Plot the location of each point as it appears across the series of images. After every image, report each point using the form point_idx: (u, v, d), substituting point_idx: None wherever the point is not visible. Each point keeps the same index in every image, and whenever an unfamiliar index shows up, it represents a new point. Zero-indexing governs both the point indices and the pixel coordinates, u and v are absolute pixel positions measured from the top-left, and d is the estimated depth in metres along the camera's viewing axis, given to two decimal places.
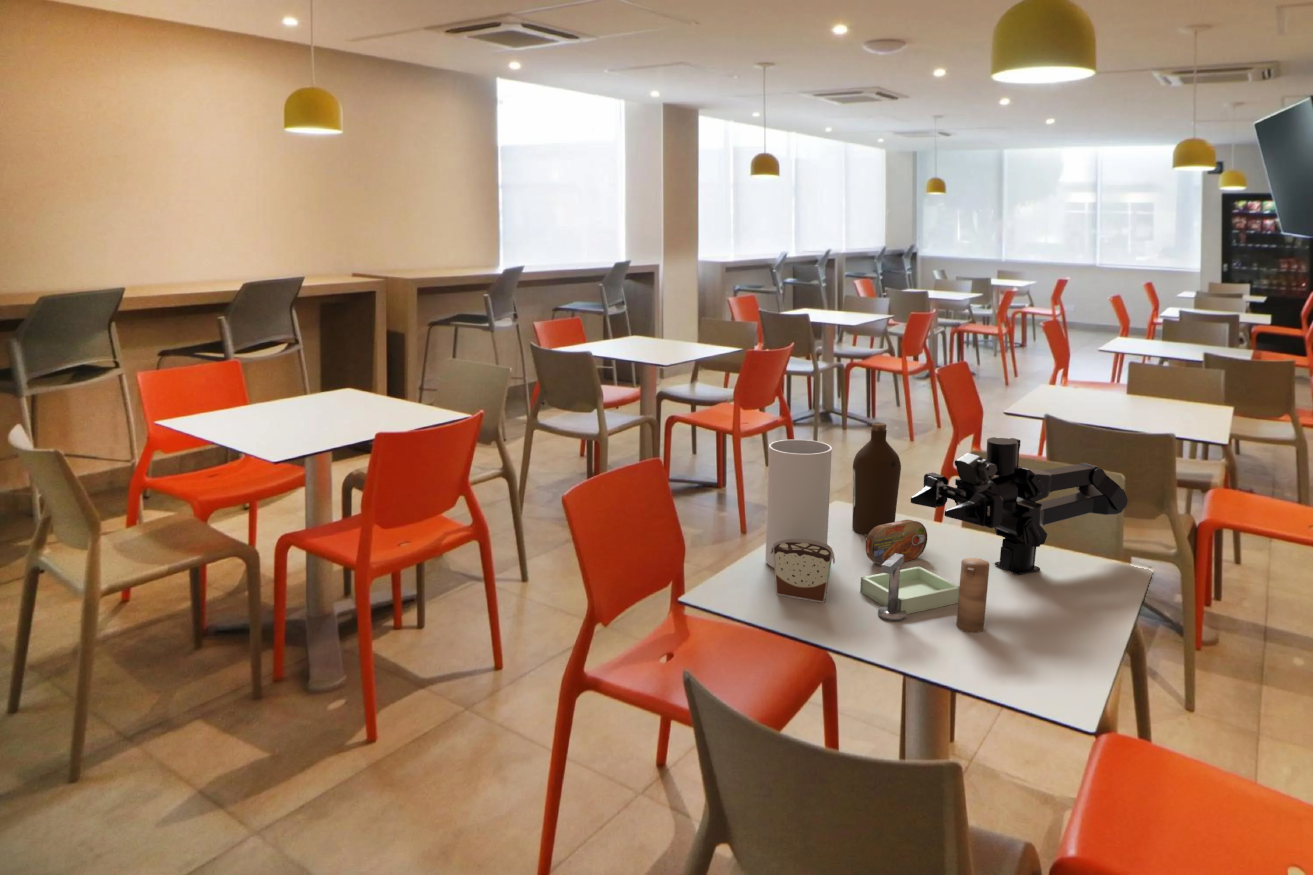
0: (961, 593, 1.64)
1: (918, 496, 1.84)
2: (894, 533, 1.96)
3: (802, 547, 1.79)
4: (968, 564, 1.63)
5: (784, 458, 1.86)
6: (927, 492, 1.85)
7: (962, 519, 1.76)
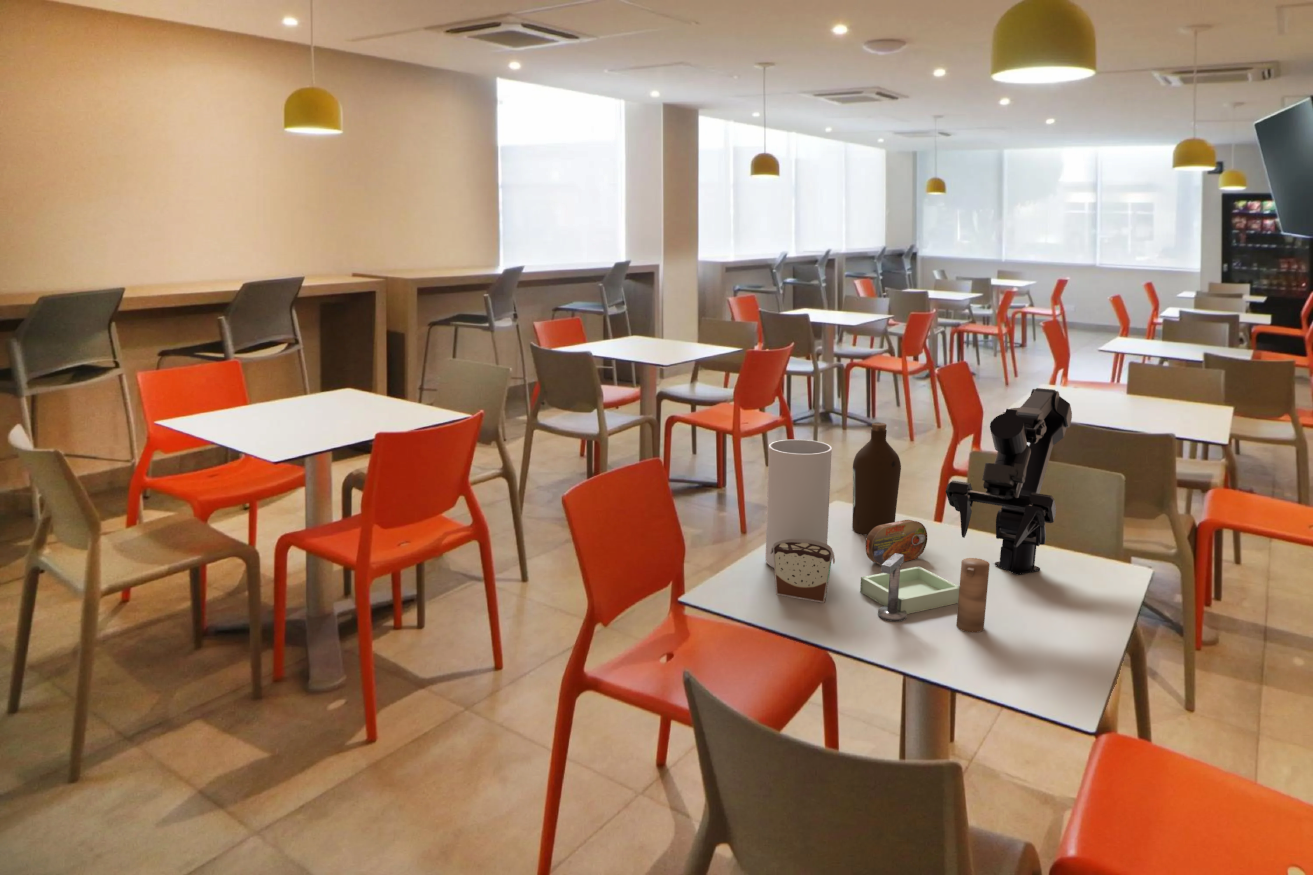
0: (961, 593, 1.64)
1: (965, 527, 1.73)
2: (894, 533, 1.96)
3: (802, 547, 1.79)
4: (968, 564, 1.63)
5: (784, 458, 1.86)
6: (967, 514, 1.74)
7: (1026, 535, 1.70)
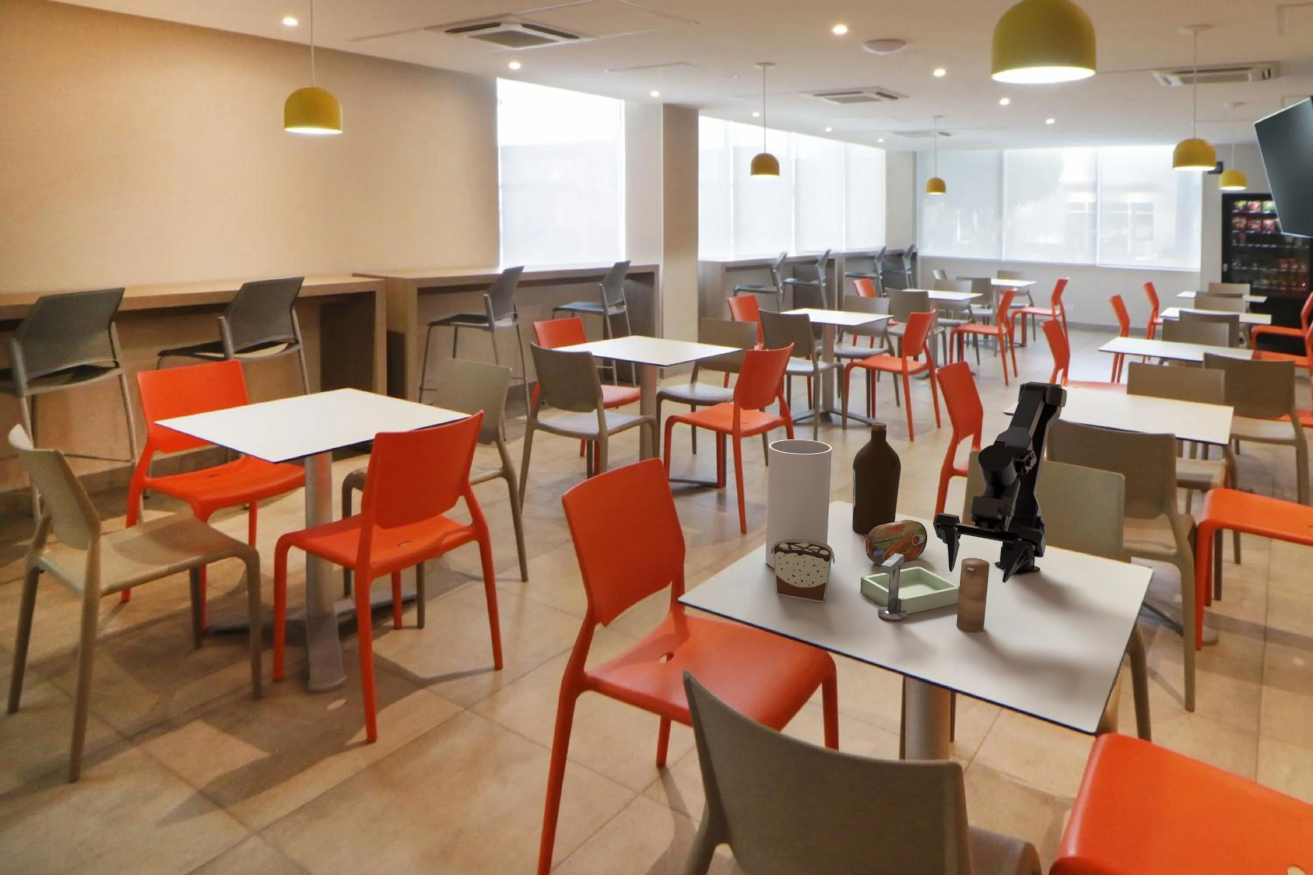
0: (961, 593, 1.64)
1: (953, 561, 1.68)
2: (894, 533, 1.96)
3: (802, 547, 1.79)
4: (968, 564, 1.63)
5: (784, 458, 1.86)
6: (954, 548, 1.70)
7: (1015, 570, 1.65)
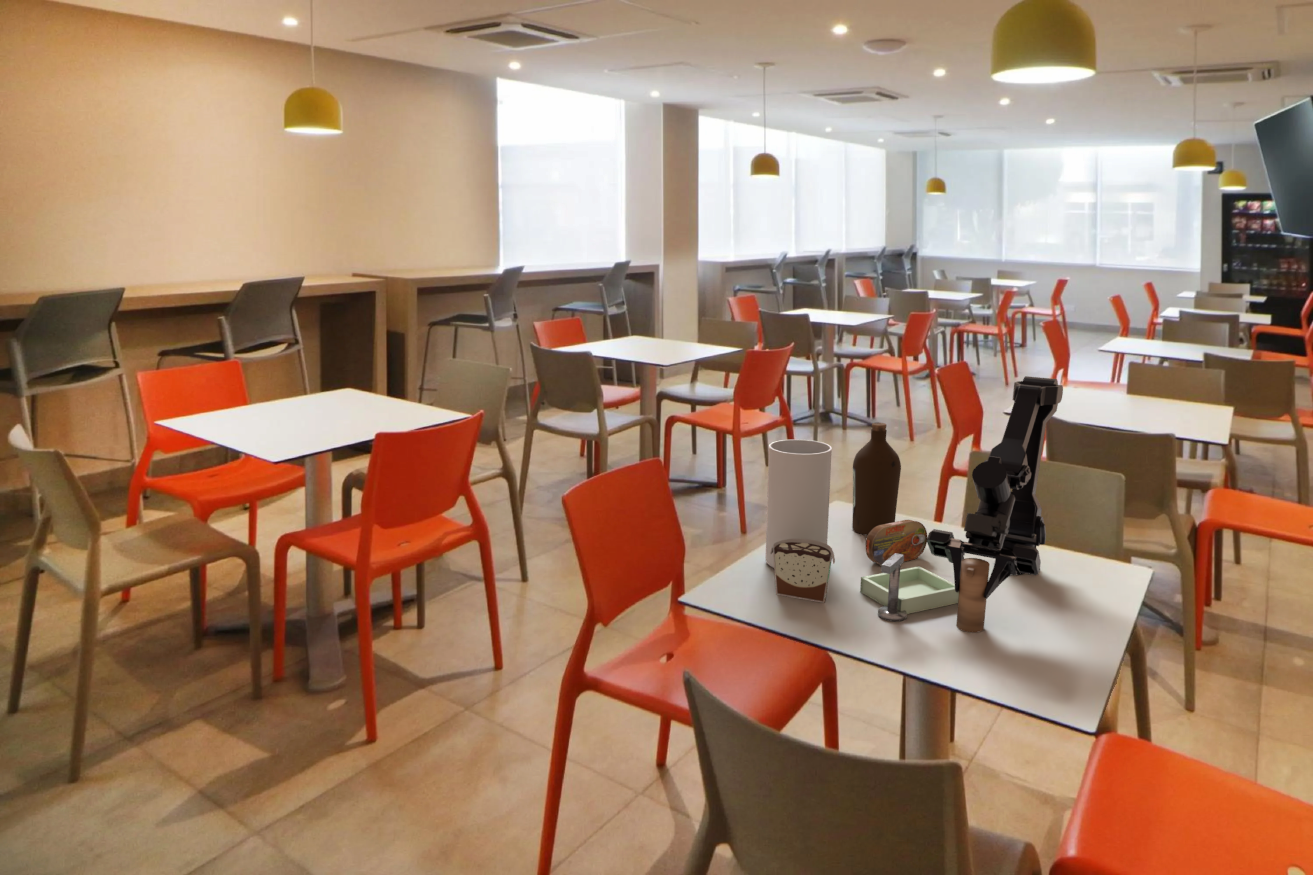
0: (961, 593, 1.64)
1: (959, 581, 1.65)
2: (894, 533, 1.96)
3: (802, 547, 1.79)
4: (968, 564, 1.63)
5: (784, 458, 1.86)
6: (960, 568, 1.66)
7: (997, 585, 1.64)
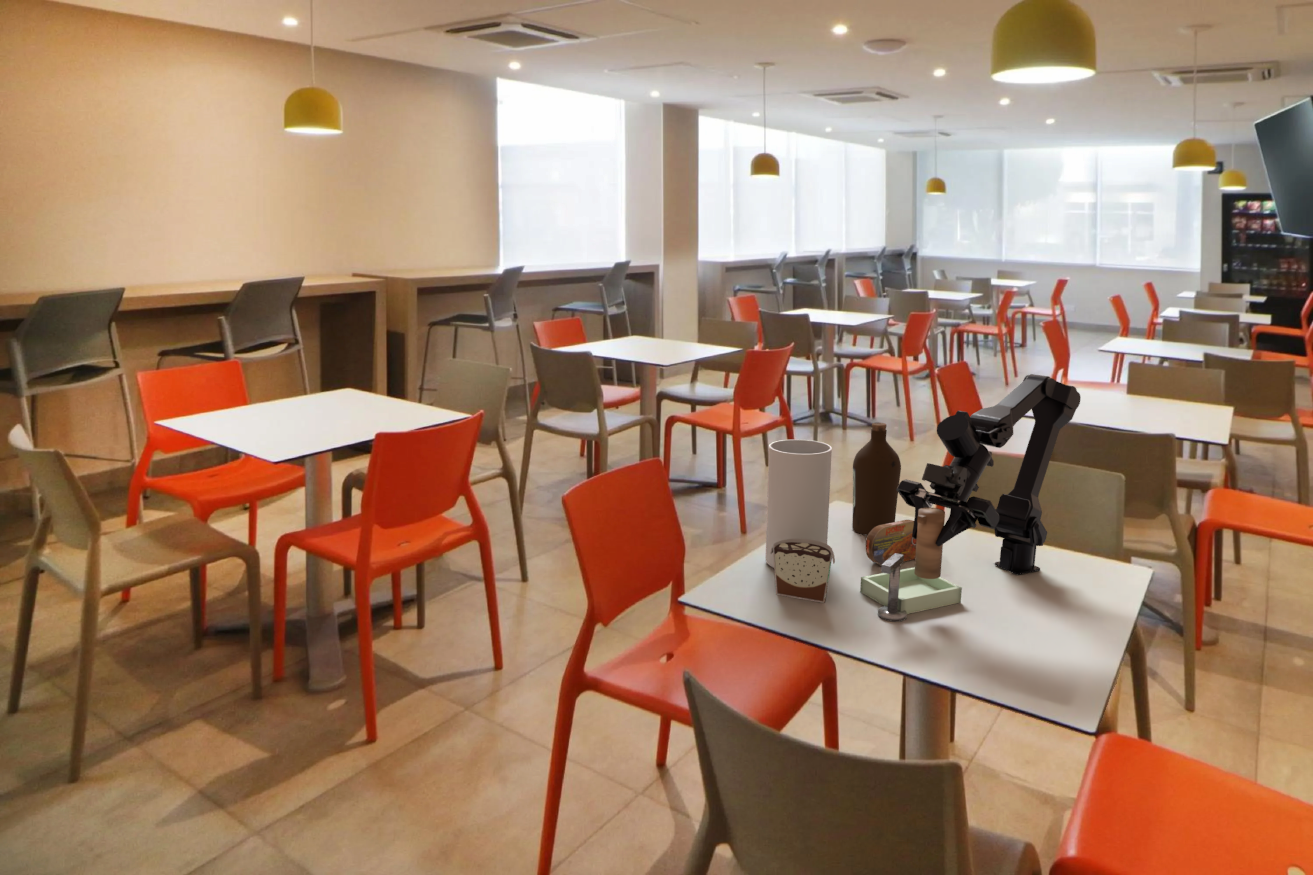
0: (917, 540, 1.71)
1: None
2: (894, 533, 1.96)
3: (802, 547, 1.79)
4: (923, 511, 1.70)
5: (784, 458, 1.86)
6: None
7: (953, 535, 1.69)
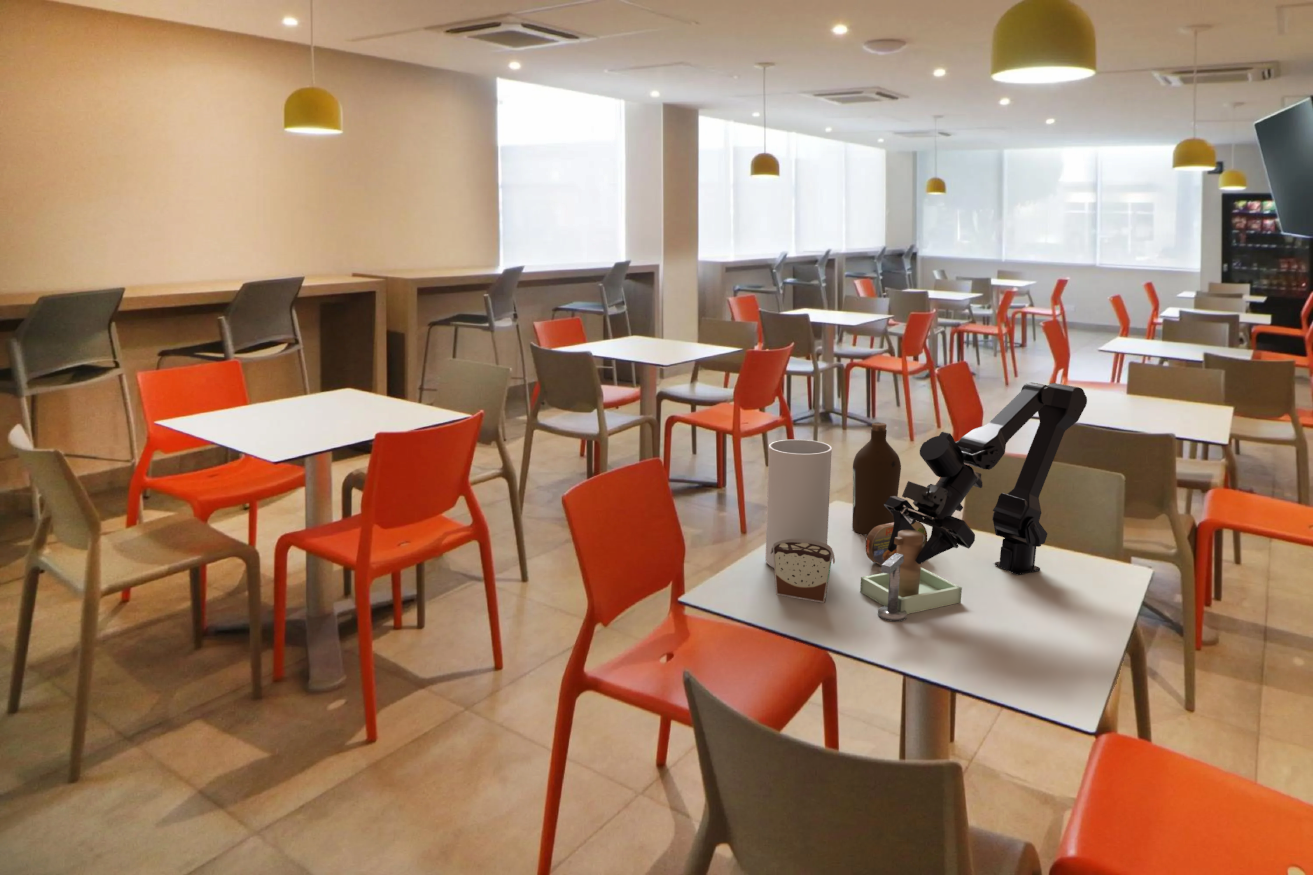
0: None
1: (893, 542, 1.79)
2: None
3: (802, 547, 1.79)
4: (902, 533, 1.76)
5: (784, 458, 1.86)
6: None
7: (935, 554, 1.74)
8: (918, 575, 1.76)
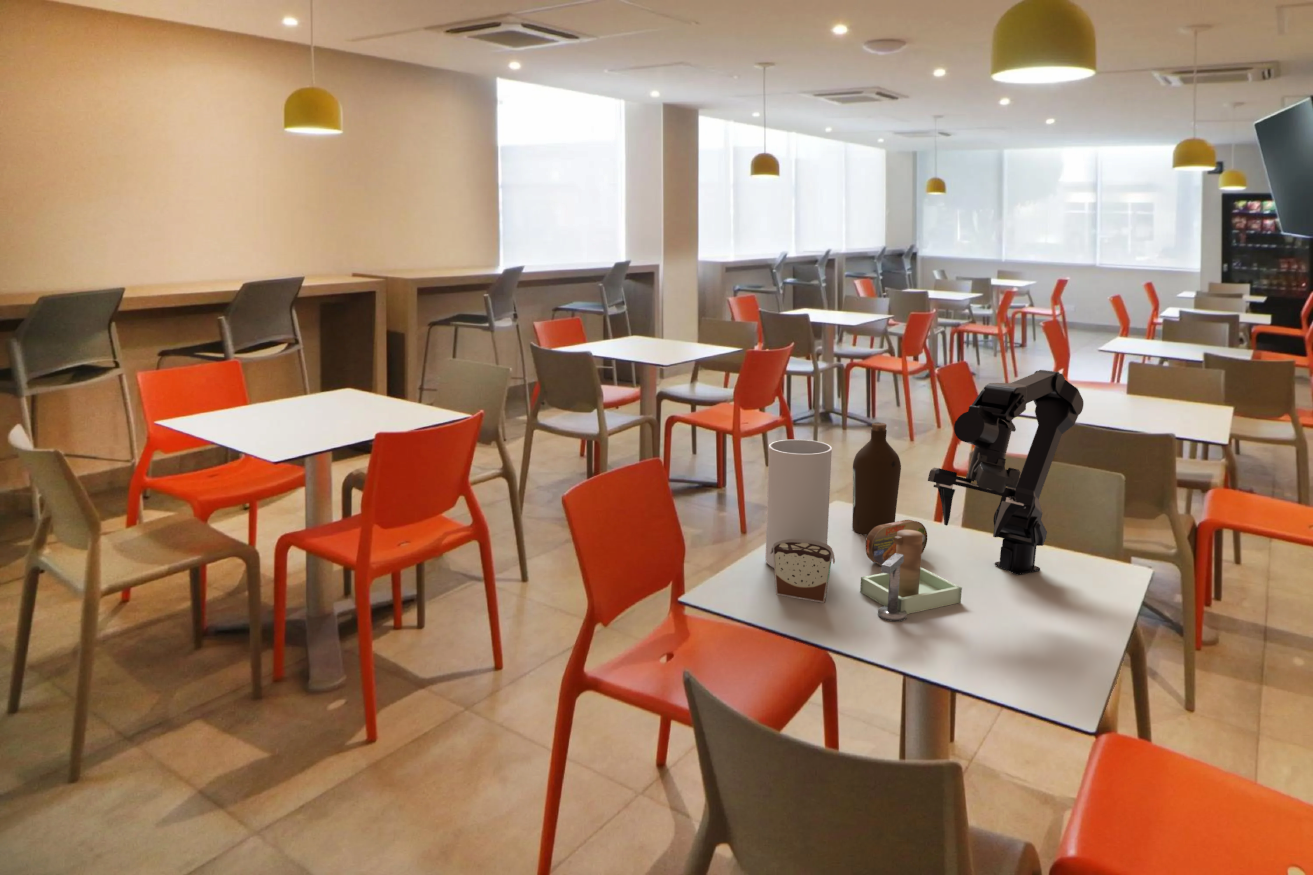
0: None
1: None
2: (894, 533, 1.96)
3: (802, 547, 1.79)
4: (901, 533, 1.76)
5: (784, 458, 1.86)
6: None
7: None
8: (918, 575, 1.76)
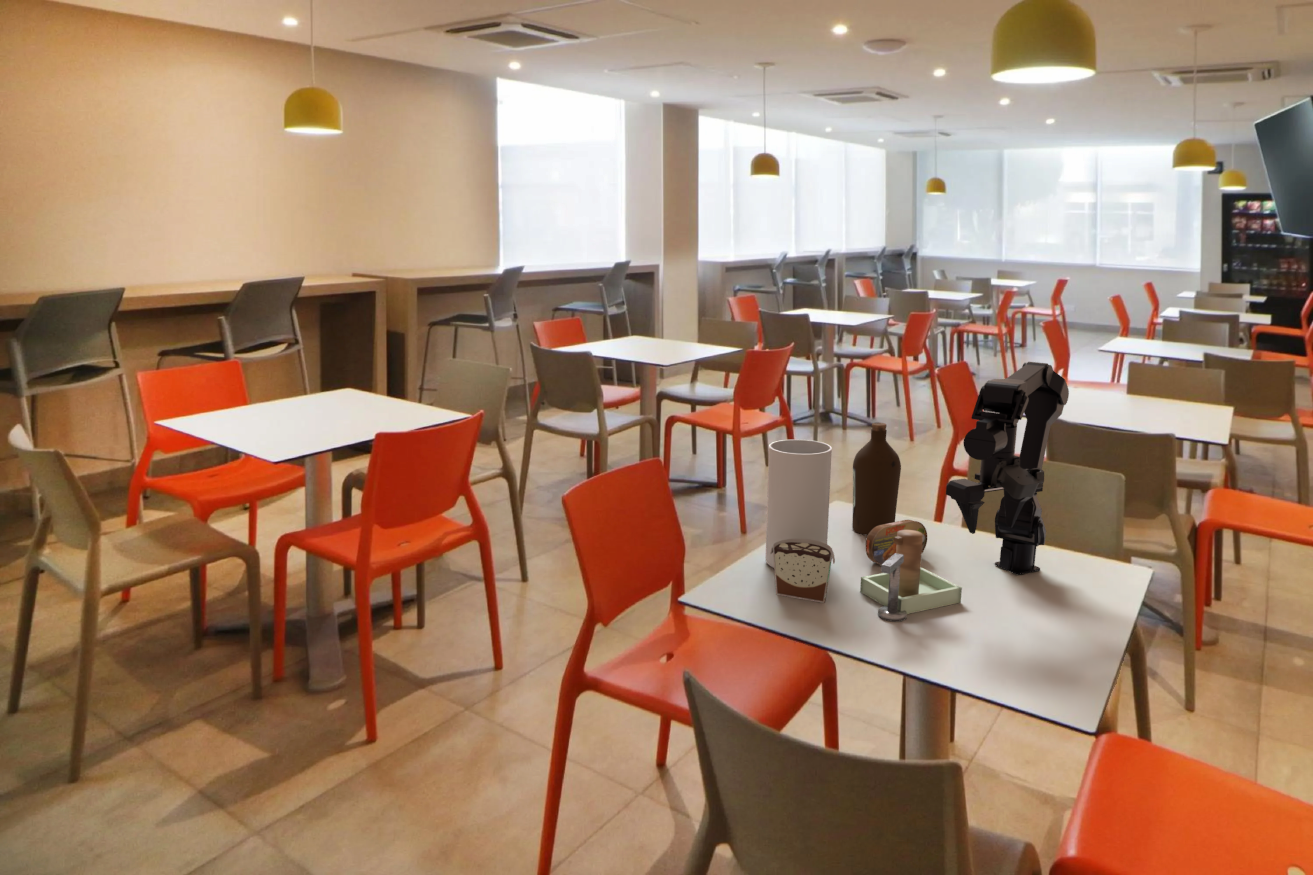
0: None
1: None
2: (894, 533, 1.96)
3: (802, 547, 1.79)
4: (901, 533, 1.76)
5: (784, 458, 1.86)
6: None
7: None
8: (918, 575, 1.76)
